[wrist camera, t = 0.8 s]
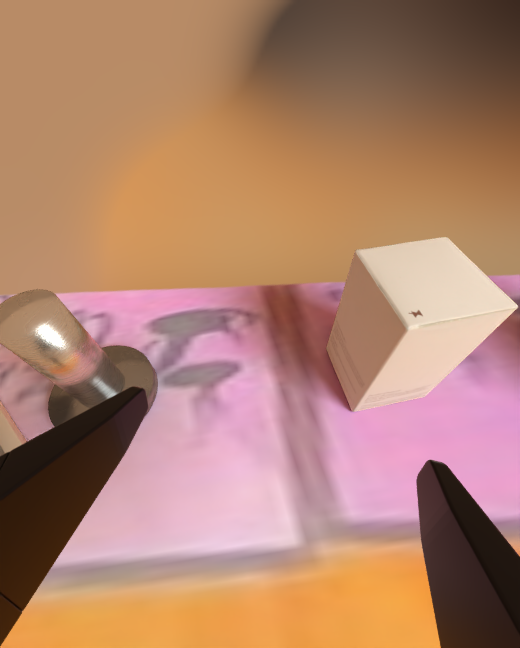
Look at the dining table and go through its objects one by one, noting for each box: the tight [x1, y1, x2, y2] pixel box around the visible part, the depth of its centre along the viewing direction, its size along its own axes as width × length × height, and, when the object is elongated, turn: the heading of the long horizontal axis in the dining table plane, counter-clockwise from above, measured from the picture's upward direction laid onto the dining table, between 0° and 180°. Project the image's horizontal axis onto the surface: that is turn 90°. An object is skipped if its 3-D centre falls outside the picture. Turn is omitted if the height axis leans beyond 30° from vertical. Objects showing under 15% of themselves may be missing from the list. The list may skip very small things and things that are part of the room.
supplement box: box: [326, 237, 518, 412], centre depth 23 cm, size 7×7×13 cm
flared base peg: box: [0, 290, 158, 427], centre depth 22 cm, size 9×9×12 cm
